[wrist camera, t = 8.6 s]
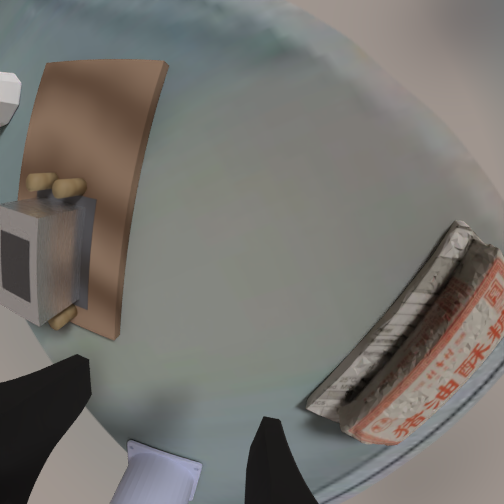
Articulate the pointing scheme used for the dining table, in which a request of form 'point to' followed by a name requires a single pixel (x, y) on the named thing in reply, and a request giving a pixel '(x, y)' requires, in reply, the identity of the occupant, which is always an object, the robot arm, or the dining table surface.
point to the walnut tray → (93, 168)
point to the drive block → (40, 256)
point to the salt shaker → (8, 96)
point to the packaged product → (420, 344)
